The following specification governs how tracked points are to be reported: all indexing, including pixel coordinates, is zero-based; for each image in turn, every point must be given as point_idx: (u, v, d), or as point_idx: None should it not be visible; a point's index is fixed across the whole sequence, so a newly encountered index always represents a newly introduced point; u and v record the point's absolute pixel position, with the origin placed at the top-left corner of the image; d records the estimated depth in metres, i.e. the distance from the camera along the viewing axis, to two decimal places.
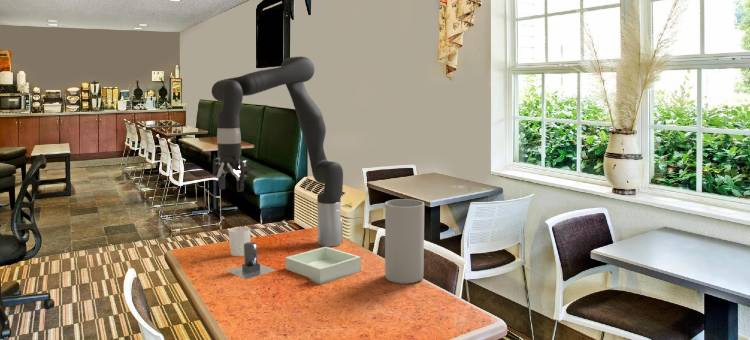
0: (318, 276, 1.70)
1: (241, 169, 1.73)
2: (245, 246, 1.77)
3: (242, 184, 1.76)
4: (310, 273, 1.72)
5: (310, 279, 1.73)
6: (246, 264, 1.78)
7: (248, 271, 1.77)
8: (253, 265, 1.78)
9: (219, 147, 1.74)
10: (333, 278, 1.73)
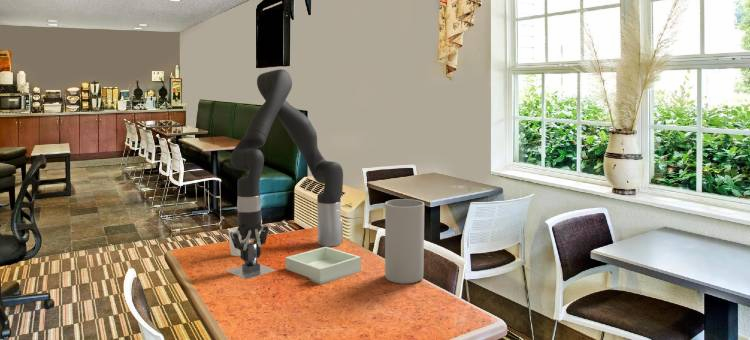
0: (318, 276, 1.70)
1: (266, 234, 1.81)
2: None
3: None
4: (310, 273, 1.72)
5: (310, 279, 1.73)
6: (246, 264, 1.78)
7: (248, 271, 1.77)
8: (253, 265, 1.78)
9: (254, 215, 1.74)
10: (333, 278, 1.73)
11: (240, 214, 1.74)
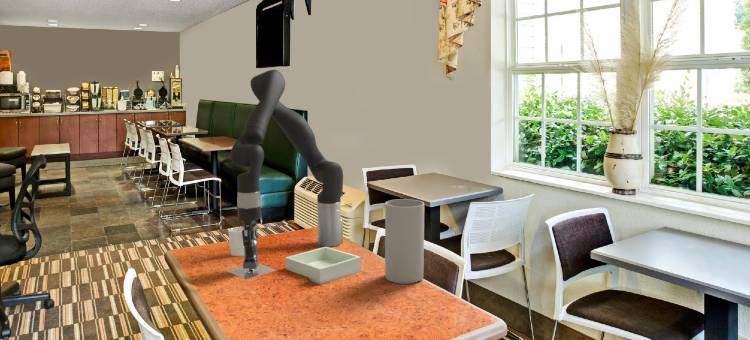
0: (318, 276, 1.70)
1: None
2: None
3: None
4: (310, 273, 1.72)
5: (310, 279, 1.73)
6: (250, 260, 1.77)
7: (254, 267, 1.78)
8: (256, 260, 1.79)
9: (260, 209, 1.76)
10: (333, 278, 1.73)
11: (248, 210, 1.73)
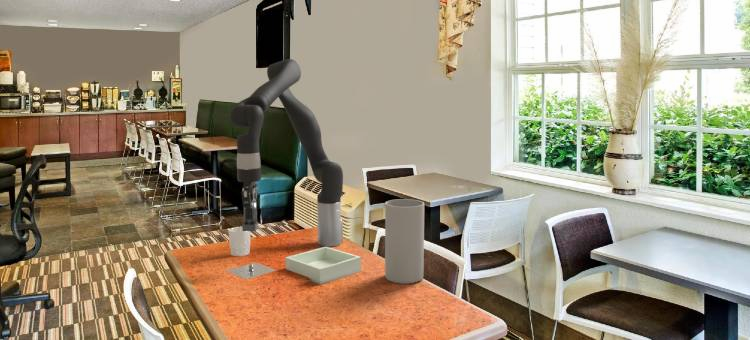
0: (318, 276, 1.70)
1: (256, 192, 1.82)
2: None
3: None
4: (310, 273, 1.72)
5: (310, 279, 1.73)
6: (250, 223, 1.76)
7: (253, 229, 1.76)
8: (256, 223, 1.77)
9: (259, 171, 1.75)
10: (333, 278, 1.73)
11: (248, 171, 1.72)
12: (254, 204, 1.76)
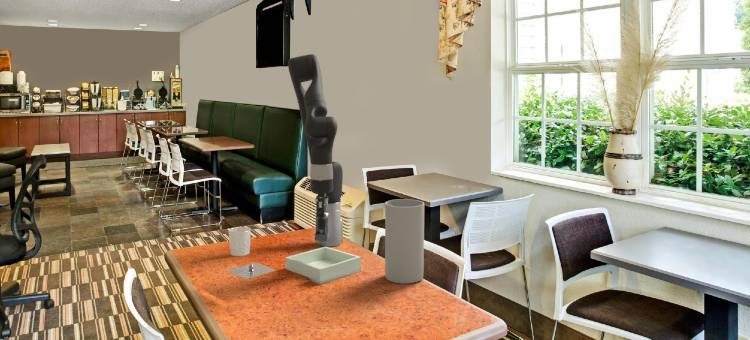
0: (318, 276, 1.70)
1: None
2: None
3: None
4: (310, 273, 1.72)
5: (310, 279, 1.73)
6: (322, 233, 1.78)
7: (325, 239, 1.78)
8: (327, 233, 1.80)
9: (332, 182, 1.77)
10: (333, 278, 1.73)
11: (322, 182, 1.74)
12: (326, 214, 1.78)
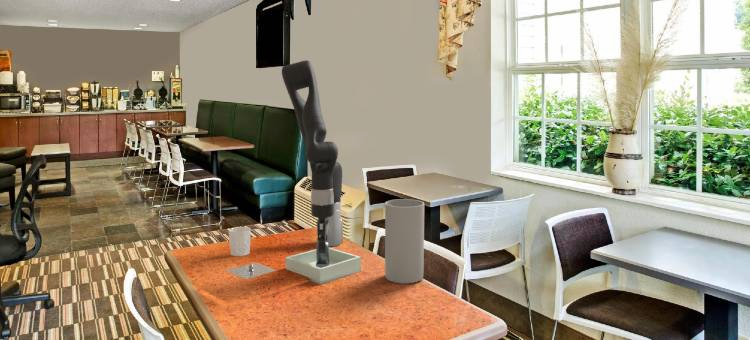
0: (318, 276, 1.70)
1: None
2: None
3: None
4: (310, 273, 1.72)
5: (310, 279, 1.73)
6: (323, 262, 1.80)
7: None
8: (328, 262, 1.81)
9: (333, 206, 1.78)
10: (333, 278, 1.73)
11: (323, 207, 1.75)
12: (327, 244, 1.80)
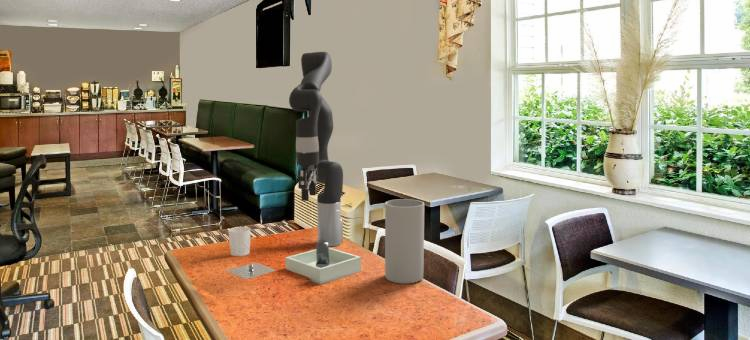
0: (318, 276, 1.70)
1: (317, 172, 1.86)
2: (322, 245, 1.79)
3: None
4: (310, 273, 1.72)
5: (310, 279, 1.73)
6: (323, 262, 1.80)
7: None
8: (328, 262, 1.81)
9: (317, 155, 1.78)
10: (333, 278, 1.73)
11: (305, 155, 1.75)
12: (327, 244, 1.80)
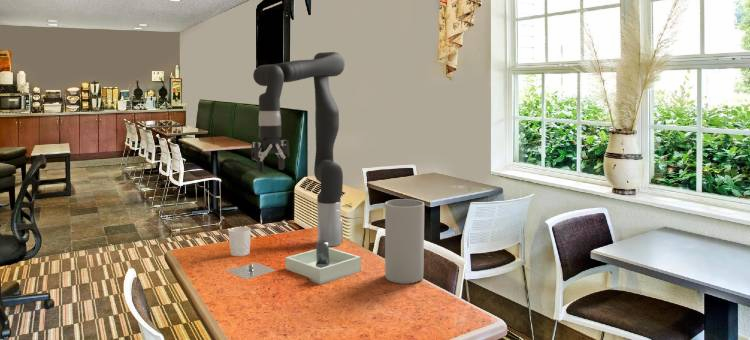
0: (318, 276, 1.70)
1: (287, 147, 1.89)
2: (322, 245, 1.79)
3: None
4: (310, 273, 1.72)
5: (310, 279, 1.73)
6: (323, 262, 1.80)
7: None
8: (328, 262, 1.81)
9: (275, 129, 1.82)
10: (333, 278, 1.73)
11: (262, 128, 1.82)
12: (327, 244, 1.80)
